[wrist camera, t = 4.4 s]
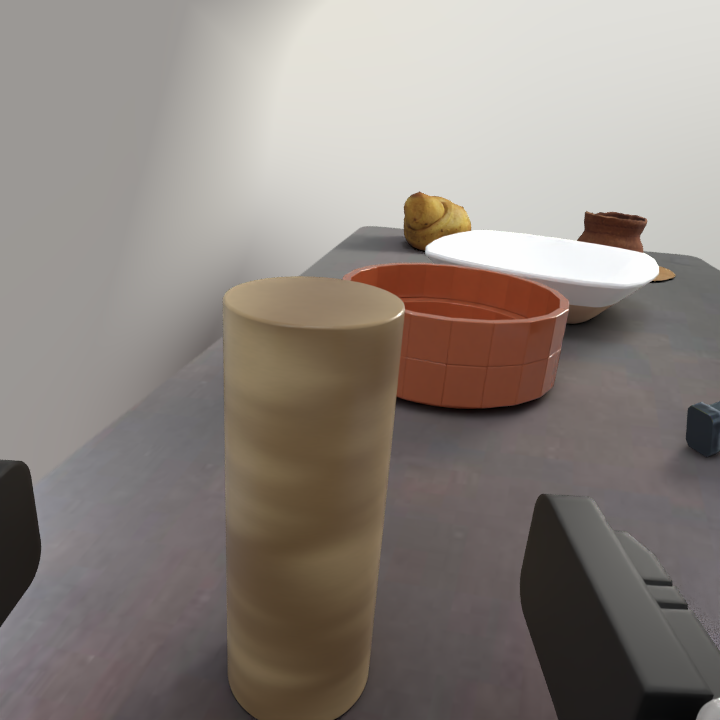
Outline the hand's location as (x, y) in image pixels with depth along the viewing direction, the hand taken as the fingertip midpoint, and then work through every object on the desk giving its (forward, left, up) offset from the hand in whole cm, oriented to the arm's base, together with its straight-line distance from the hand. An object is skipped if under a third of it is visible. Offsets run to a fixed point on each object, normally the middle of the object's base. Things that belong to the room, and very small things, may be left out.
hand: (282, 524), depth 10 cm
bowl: (+20, +52, -10) cm, 57 cm away
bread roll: (+13, +80, -10) cm, 82 cm away
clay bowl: (+8, +32, -10) cm, 35 cm away
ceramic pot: (+36, +74, -10) cm, 83 cm away
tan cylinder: (0, +6, -10) cm, 12 cm away
